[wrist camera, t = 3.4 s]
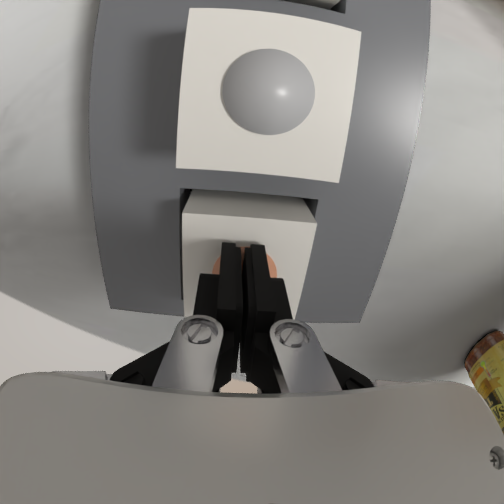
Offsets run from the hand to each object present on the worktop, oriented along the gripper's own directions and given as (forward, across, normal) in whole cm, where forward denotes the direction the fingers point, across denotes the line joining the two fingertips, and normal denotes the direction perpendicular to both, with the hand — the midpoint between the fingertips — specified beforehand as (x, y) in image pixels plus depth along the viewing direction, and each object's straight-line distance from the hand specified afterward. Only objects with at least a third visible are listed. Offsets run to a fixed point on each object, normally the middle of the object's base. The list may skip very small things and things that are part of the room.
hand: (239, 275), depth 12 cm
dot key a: (+4, 0, 0) cm, 4 cm away
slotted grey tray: (+5, 0, -7) cm, 8 cm away
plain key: (+3, 0, -7) cm, 8 cm away
